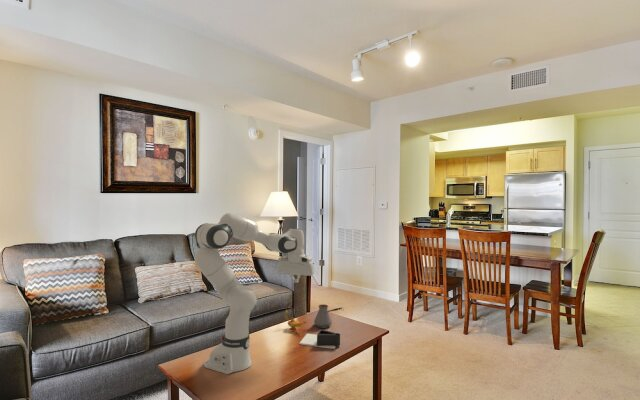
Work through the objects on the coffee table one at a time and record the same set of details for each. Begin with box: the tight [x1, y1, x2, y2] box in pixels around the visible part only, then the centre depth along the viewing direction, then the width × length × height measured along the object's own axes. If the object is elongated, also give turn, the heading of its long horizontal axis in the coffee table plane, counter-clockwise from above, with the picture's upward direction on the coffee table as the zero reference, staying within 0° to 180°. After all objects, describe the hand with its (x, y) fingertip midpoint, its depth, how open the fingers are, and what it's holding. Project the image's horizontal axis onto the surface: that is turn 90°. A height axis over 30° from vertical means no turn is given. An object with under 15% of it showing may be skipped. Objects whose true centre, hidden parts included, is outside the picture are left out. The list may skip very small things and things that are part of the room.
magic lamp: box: [284, 309, 308, 332], centre depth 208 cm, size 7×18×11 cm, turn 54°
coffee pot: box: [313, 304, 344, 329], centre depth 213 cm, size 21×12×15 cm, turn 50°
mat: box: [299, 333, 337, 350], centre depth 191 cm, size 20×14×1 cm
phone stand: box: [316, 328, 341, 347], centre depth 187 cm, size 9×6×12 cm
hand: (295, 282), depth 185 cm, fingers closed
